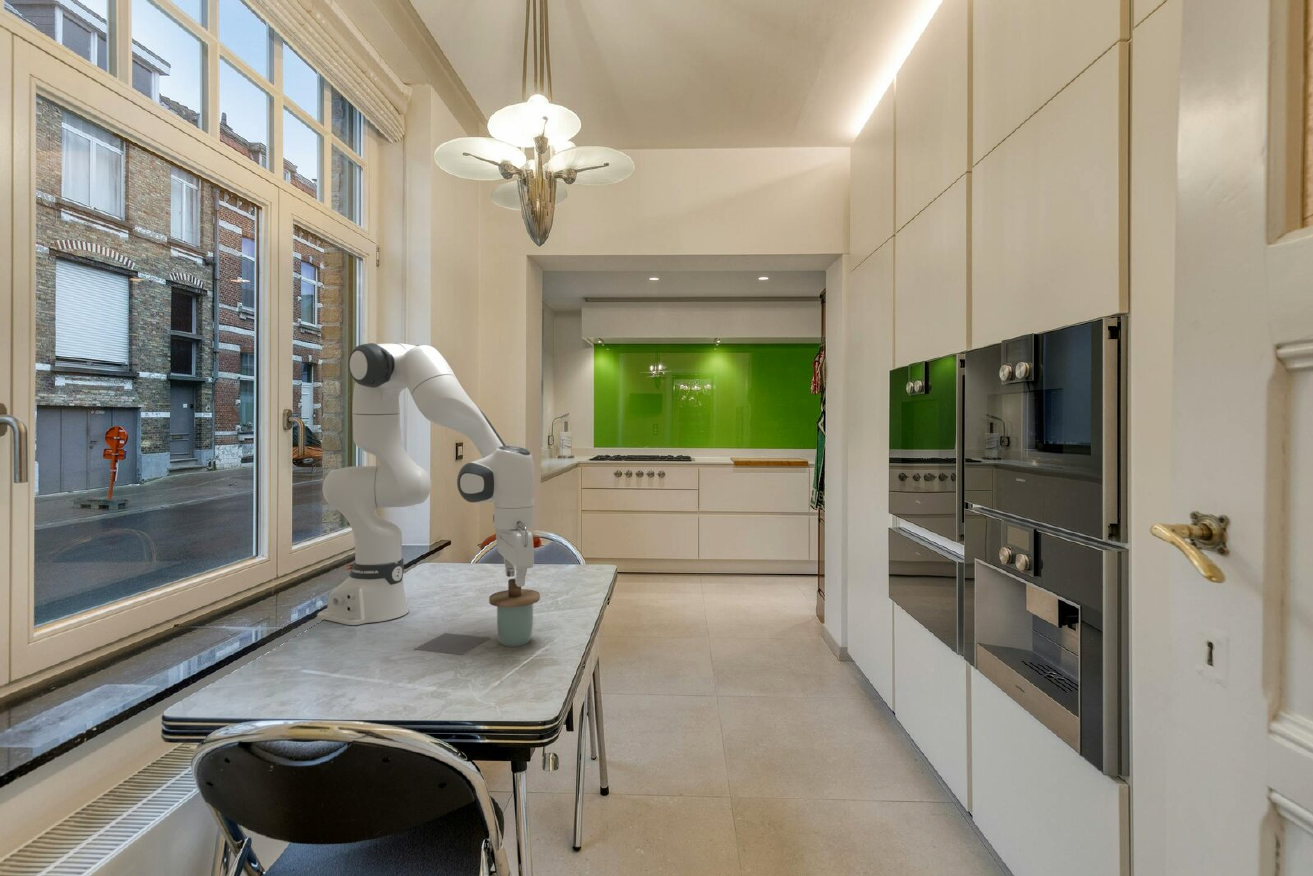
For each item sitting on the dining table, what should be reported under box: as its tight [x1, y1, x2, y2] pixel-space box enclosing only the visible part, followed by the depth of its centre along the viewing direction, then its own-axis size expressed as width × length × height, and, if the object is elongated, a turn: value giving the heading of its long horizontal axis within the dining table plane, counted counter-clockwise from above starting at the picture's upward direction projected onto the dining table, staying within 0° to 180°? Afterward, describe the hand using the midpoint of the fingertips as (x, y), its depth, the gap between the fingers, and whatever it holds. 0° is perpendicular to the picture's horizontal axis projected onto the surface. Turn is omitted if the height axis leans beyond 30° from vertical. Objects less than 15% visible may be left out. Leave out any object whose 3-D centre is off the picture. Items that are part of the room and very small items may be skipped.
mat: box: [413, 632, 491, 656], centre depth 131 cm, size 12×11×1 cm
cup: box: [496, 603, 534, 648], centre depth 131 cm, size 8×8×10 cm
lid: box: [488, 577, 541, 607], centre depth 131 cm, size 11×11×4 cm
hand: (514, 580), depth 132 cm, fingers open, 8 cm apart
